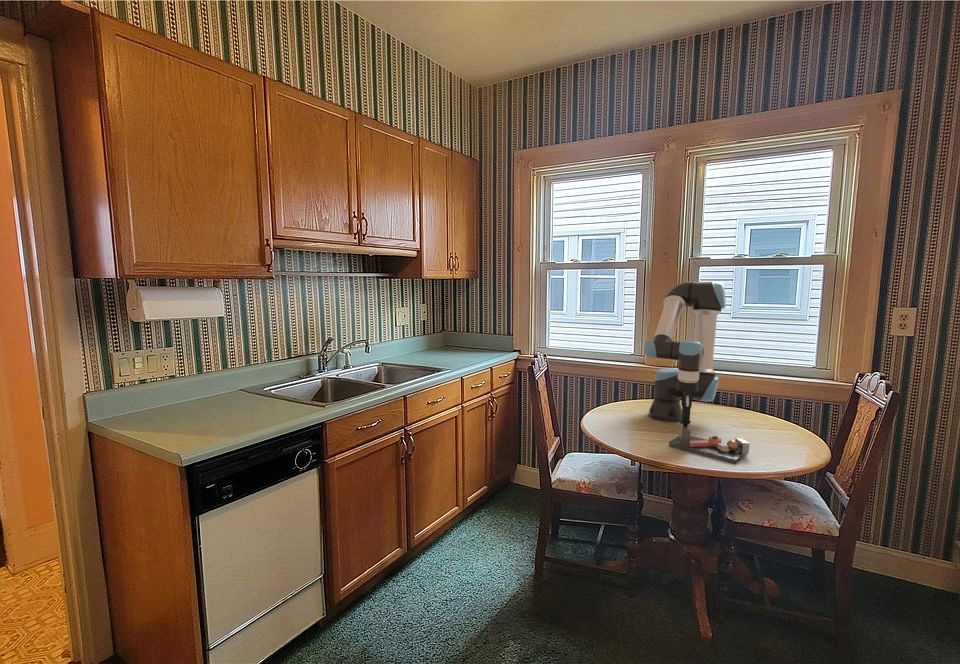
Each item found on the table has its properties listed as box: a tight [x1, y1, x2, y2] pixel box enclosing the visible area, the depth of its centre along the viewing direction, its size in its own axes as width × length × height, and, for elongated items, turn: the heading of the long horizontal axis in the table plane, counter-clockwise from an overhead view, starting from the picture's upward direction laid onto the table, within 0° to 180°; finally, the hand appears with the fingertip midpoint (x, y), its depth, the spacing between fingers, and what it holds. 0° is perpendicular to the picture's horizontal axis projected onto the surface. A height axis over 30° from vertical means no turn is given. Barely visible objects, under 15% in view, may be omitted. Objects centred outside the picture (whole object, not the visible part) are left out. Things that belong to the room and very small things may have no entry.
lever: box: [680, 426, 728, 451], centre depth 172 cm, size 16×9×7 cm, turn 95°
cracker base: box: [668, 434, 750, 465], centre depth 174 cm, size 26×14×6 cm, turn 45°
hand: (684, 439), depth 178 cm, fingers closed
